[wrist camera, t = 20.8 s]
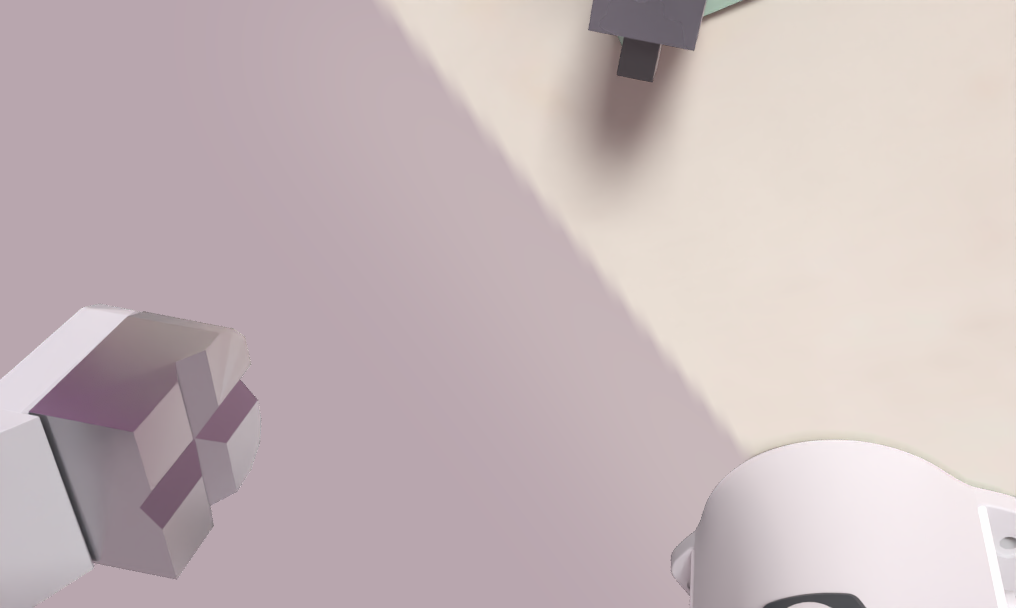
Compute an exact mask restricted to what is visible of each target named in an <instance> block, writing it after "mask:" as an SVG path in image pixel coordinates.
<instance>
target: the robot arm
mask: <svg viewBox="0 0 1016 608" xmlns="http://www.w3.org/2000/svg"><path fill="white" fill-rule="evenodd" d="M250 365H251V361H250V357H249V352H248V348H247V344H246V340H245V337H244V336H243V335H242V334H240V333H239V332H237V331H236V330H234V329H232V328H227V327H222V326H216V325H212V324H206V323H201V322H196V321H191V320H186V319H180V318H175V317H170V316H165V315H159V314H154V313H149V312H138V311H134V310H129V309H124V308H119V307H114V306H108V305H103V304H96V305H92V306H87V307H83V308H81V309H80V310H79V311H78V312H77V313H76V314H75V315H73V316H72V317H71V318H70V319H69V320H68V321H67V322H65V324H63V325H62V326H61V327H60V328H59V329H58V330H56V331H55V332H54V333H53V334H52V335H51V336H50V337H48V338H47V339H46V340H45V341H44V342H43V343H42V344H40V345H39V346H38V347H37V348H36V349H35V350H34V351H33V352H31V353H30V354H29V355H28V356H27V357H26V358H25V359H23V360H22V361H21V362H20V363H19V364H18V365H17V366H16V367H14V368H13V369H12V370H11V371H10V372H9V373H8V374H6V375H5V376H4V377H3V378H2V379H1V380H0V608H33V607H35V606H36V605H38V604H39V603H41V602H42V601H44V600H45V599H47V598H49V597H50V596H52V595H53V594H55V593H56V592H58V591H59V590H61V589H63V588H64V587H65V586H67V585H69V584H70V583H72V582H73V581H75V580H76V579H78V578H80V577H81V576H83V575H84V574H86V573H87V572H89V571H90V570H92V569H93V568H94V565H93V563H97V564H102V565H106V566H112V567H117V568H122V569H127V570H132V571H137V572H142V573H147V574H152V575H157V576H162V577H167V578H172V579H177V578H178V577H179V576H180V574H181V573H182V571H183V570H184V568H185V567H186V565H187V564H188V562H189V561H190V560H191V558H192V557H193V555H194V554H195V552H196V551H197V549H198V548H199V546H200V545H201V544H202V542H203V540H204V539H205V538H206V536H207V535H208V533H209V532H210V530H211V529H212V528H213V526H214V525H213V518H212V512H211V505H213V504H215V503H217V502H219V501H220V500H222V499H224V498H226V497H228V496H230V495H232V494H234V493H236V492H237V491H238V489H239V488H240V486H241V485H242V483H243V481H244V480H245V478H246V477H247V475H248V474H249V472H250V471H251V468H252V465H253V462H254V459H255V456H256V453H257V450H258V447H259V444H260V433H261V415H260V410H259V403H258V400H257V398H256V397H255V396H254V395H253V394H252V393H251V391H250V390H249V389H248V388H247V387H246V385H245V384H244V383H243V382H242V381H241V380H240V379H241V377H242V376H243V375H244V373H245V372H246V370H247V369H248V368H249V367H250ZM1006 537H1012V538H1006ZM671 572H672V575H673V576H674V578H675V579H676V580H677V582H678V583H679V584H680V585H681V586H682V587H683V589H684V590H685V591H686V592H687V593H688V594H689V595H690V608H1016V498H1015V497H1013V496H1009V495H1006V494H1002V493H998V492H994V491H990V490H986V489H981V488H977V487H972V486H970V485H968V484H966V483H964V482H962V481H960V480H958V479H956V478H955V477H953V476H952V475H950V474H948V473H947V472H945V471H944V470H942V469H940V468H939V467H937V466H935V465H934V464H932V463H930V462H928V461H926V460H924V459H922V458H920V457H918V456H915V455H913V454H910V453H908V452H905V451H902V450H899V449H895V448H892V447H888V446H884V445H879V444H875V443H869V442H862V441H852V440H816V441H807V442H800V443H795V444H790V445H786V446H782V447H778V448H775V449H772V450H769V451H766V452H764V453H761V454H759V455H757V456H755V457H753V458H751V459H749V460H747V461H745V462H744V463H742V464H740V465H739V466H738V467H736V468H735V469H733V470H732V471H731V472H730V473H728V474H727V475H726V476H725V477H724V478H723V479H722V480H721V481H720V482H719V484H718V485H717V486H716V487H715V489H714V490H713V492H712V493H711V495H710V497H709V498H708V500H707V503H706V505H705V508H704V511H703V514H702V517H701V520H700V523H699V525H698V527H697V528H696V530H695V531H694V532H693V533H691V534H690V535H689V536H688V537H687V538H685V539H684V540H683V541H682V542H681V543H680V544H679V545H678V546H677V547H676V548H675V549H674V551H673V552H672V555H671Z"/></svg>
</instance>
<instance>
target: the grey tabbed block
mask: <svg viewBox="0 0 1016 608" xmlns="http://www.w3.org/2000/svg"><path fill="white" fill-rule="evenodd" d="M706 3H707V0H593V5H592V11H591V17H590V23H589V29H588V30H590V31H595V32H600V33H605V34H610V35H616V36H621V37H624V39H623V44H622V49H621V55H620V60H619V66H618V71H617V75H618V76H623V77H628V78H633V79H638V80H643V81H648V82H653V79H654V76H655V73H656V70H657V66H658V61H659V56H660V52H661V47H662V45H667V46H672V47H678V48H683V49H688V50H693V51H694V49H695V45H696V42H697V38H698V34H699V30H700V26H701V22H702V19H703V15H704V11H705V7H706Z"/></svg>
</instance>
